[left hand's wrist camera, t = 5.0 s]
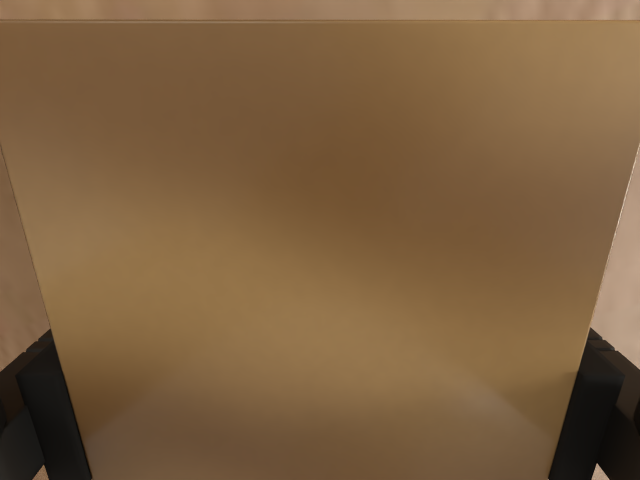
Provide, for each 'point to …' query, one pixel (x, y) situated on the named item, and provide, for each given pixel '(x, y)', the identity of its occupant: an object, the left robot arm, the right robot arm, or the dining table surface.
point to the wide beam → (320, 236)
